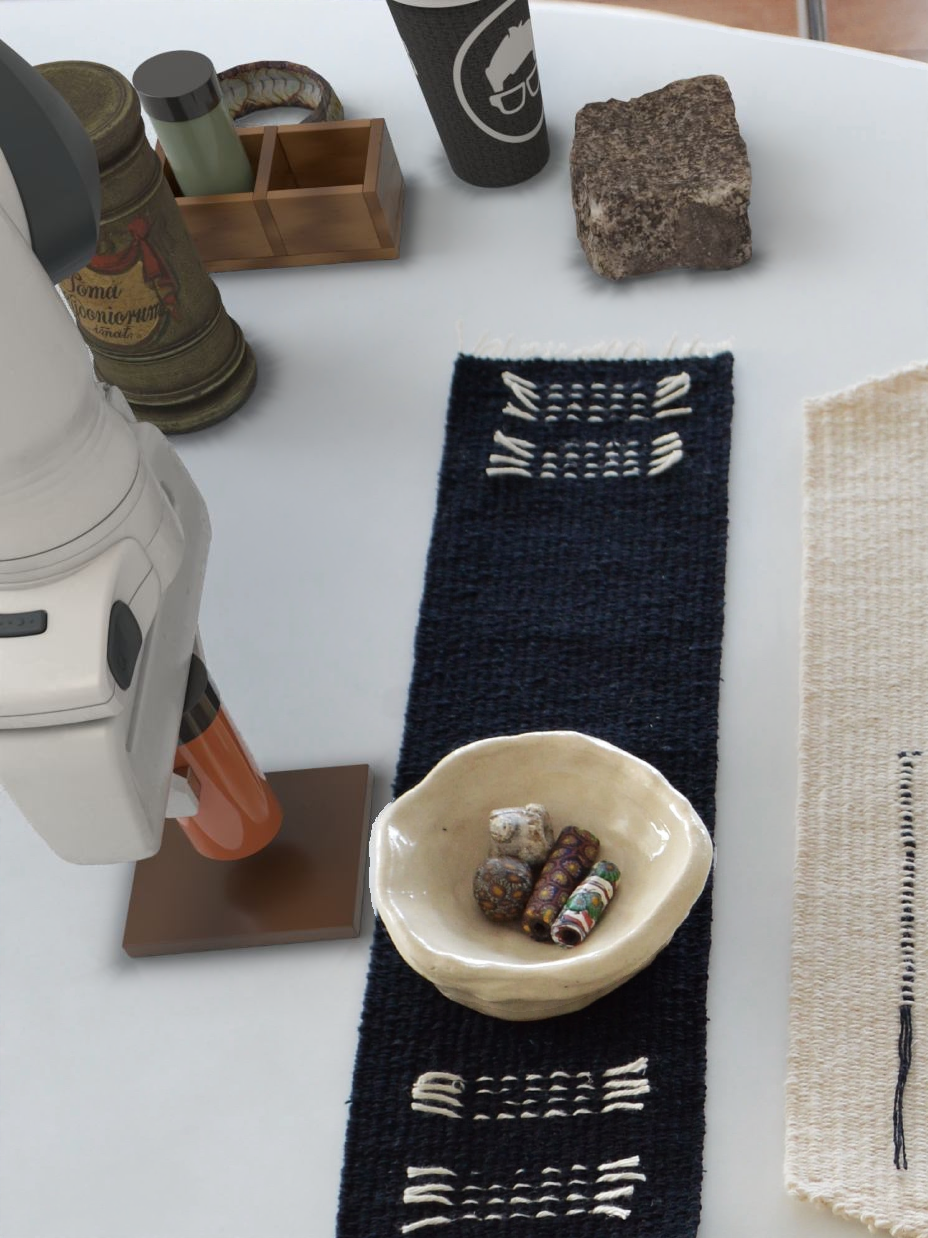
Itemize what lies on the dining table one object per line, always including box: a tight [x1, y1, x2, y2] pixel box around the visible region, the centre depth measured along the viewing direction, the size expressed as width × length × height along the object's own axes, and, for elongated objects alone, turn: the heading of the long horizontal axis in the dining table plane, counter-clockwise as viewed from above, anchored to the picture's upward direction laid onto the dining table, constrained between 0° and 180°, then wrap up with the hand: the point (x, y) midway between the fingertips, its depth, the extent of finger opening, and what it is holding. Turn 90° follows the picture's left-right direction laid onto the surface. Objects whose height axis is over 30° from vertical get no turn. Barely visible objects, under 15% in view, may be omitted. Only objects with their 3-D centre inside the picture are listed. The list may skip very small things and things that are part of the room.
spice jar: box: [174, 653, 283, 861], centre depth 85 cm, size 5×5×10 cm
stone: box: [568, 73, 753, 281], centre depth 116 cm, size 11×13×6 cm
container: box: [31, 59, 258, 435], centre depth 103 cm, size 9×9×18 cm
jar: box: [131, 49, 256, 197], centre depth 113 cm, size 5×5×10 cm
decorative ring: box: [217, 60, 345, 124], centre depth 121 cm, size 10×3×10 cm
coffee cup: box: [385, 0, 551, 188], centre depth 115 cm, size 10×10×15 cm
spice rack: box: [154, 117, 407, 274], centre depth 116 cm, size 14×7×5 cm, turn 96°
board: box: [121, 763, 375, 958], centre depth 92 cm, size 11×10×1 cm
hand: (191, 754), depth 85 cm, fingers closed on spice jar, 4 cm apart
